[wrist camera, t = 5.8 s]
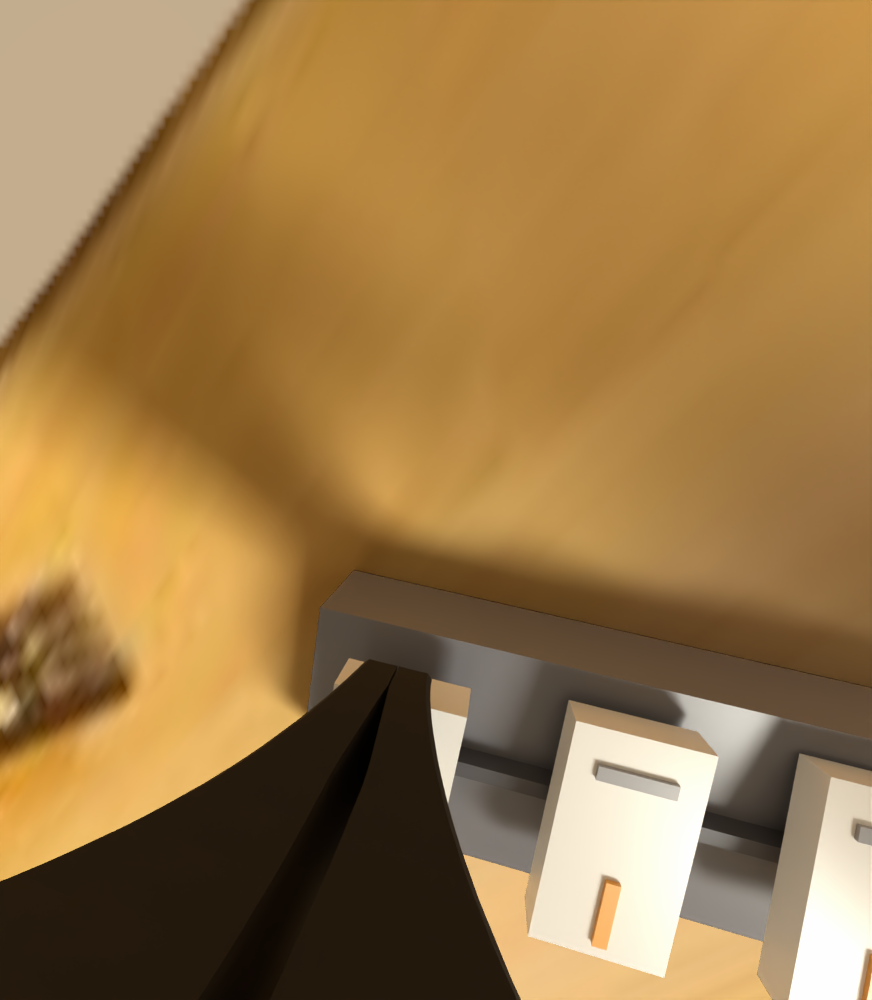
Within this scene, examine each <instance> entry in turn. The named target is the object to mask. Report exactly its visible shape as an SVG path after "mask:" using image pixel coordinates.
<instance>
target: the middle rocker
mask: <svg viewBox="0 0 872 1000" xmlns="http://www.w3.org/2000/svg"><path fill="white" fill-rule="evenodd" d="M718 758H719V756H718V755H717V754H716V753H715V752H714V750H713V749H712V748H711V747H710V746H709V744H708V743H707V742H706V741H705V740H704V738H703V737H702V736H701V735H700V733H699V732H697V731H693V730H689V729H685V728H681V727H677V726H673V725H668V724H664V723H660V722H656V721H652V720H648V719H644V718H640V717H636V716H632V715H628V714H624V713H620V712H616V711H612V710H608V709H604V708H600V707H596V706H592V705H588V704H584V703H579V702H575V701H571V700H569V701H568V705H567V710H566V714H565V719H564V723H563V728H562V732H561V737H560V741H559V746H558V750H557V755H556V759H555V764H554V768H553V773H552V777H551V782H550V786H549V791H548V795H547V799H546V804H545V808H544V813H543V817H542V822H541V826H540V831H539V835H538V840H537V844H536V849H535V853H534V858H533V862H532V867H531V871H530V876H529V880H528V885H527V889H526V894H525V907H526V920H527V932H528V936H529V937H533V938H536V939H539V940H542V941H546V942H549V943H552V944H555V945H559V946H562V947H565V948H568V949H572V950H575V951H578V952H581V953H585V954H588V955H591V956H594V957H598V958H601V959H604V960H607V961H611V962H614V963H617V964H620V965H624V966H627V967H630V968H633V969H637V970H640V971H643V972H647V973H650V974H653V975H656V976H660V977H663V978H664V976H665V972H666V968H667V964H668V960H669V956H670V952H671V948H672V944H673V940H674V936H675V932H676V928H677V924H678V920H679V915H680V911H681V907H682V903H683V899H684V895H685V891H686V887H687V883H688V879H689V875H690V871H691V867H692V863H693V859H694V855H695V851H696V847H697V843H698V839H699V835H700V831H701V827H702V823H703V819H704V814H705V810H706V806H707V802H708V798H709V794H710V790H711V786H712V782H713V778H714V774H715V770H716V766H717V762H718Z"/></svg>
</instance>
